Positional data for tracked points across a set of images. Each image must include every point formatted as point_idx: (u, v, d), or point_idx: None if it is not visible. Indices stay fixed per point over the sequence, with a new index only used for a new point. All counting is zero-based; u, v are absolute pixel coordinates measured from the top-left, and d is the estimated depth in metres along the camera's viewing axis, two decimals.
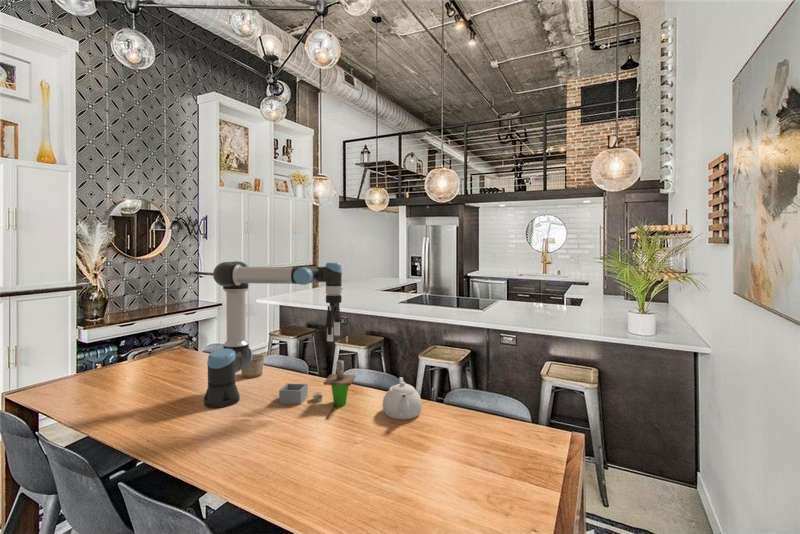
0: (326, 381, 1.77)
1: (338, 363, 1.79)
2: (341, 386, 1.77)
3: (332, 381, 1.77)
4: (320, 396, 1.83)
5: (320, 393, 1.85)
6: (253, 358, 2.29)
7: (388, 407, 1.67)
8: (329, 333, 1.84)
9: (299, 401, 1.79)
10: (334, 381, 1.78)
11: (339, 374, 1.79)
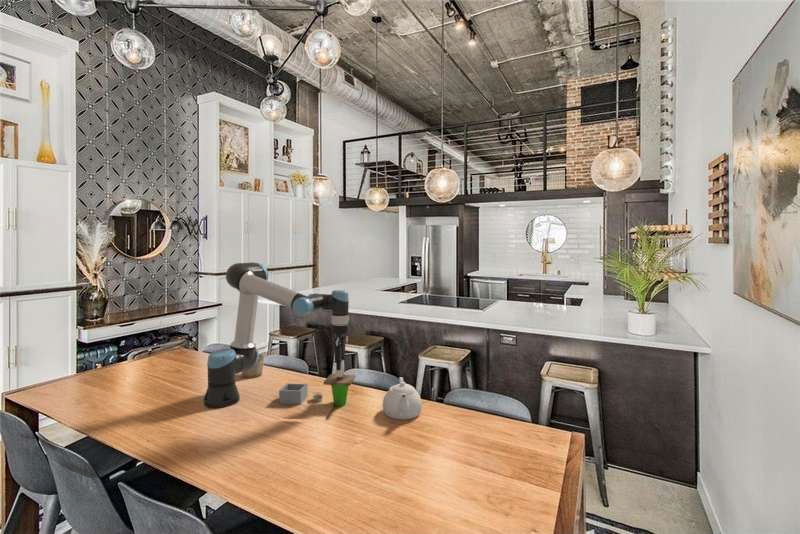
0: (326, 381, 1.77)
1: None
2: (341, 386, 1.77)
3: (332, 381, 1.77)
4: (320, 396, 1.83)
5: (320, 393, 1.85)
6: None
7: (388, 407, 1.67)
8: (338, 368, 1.77)
9: (299, 401, 1.79)
10: (334, 381, 1.78)
11: None
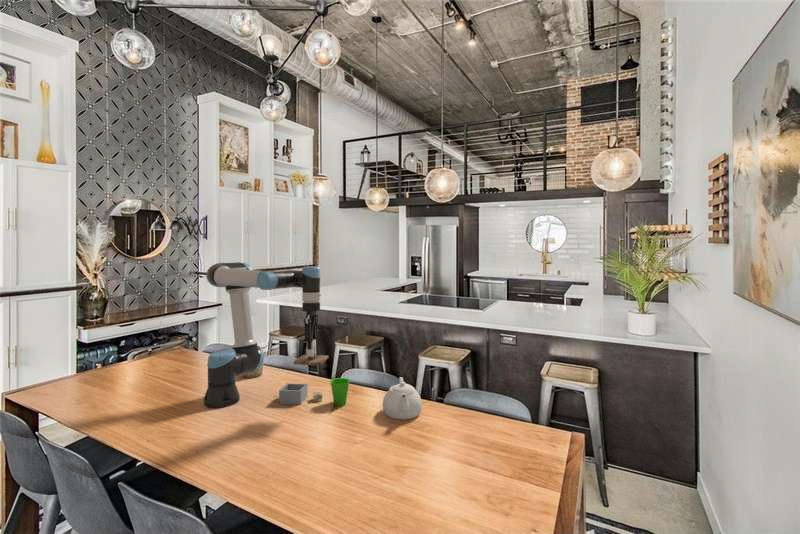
0: (296, 361, 1.69)
1: None
2: (341, 386, 1.77)
3: (302, 361, 1.70)
4: (320, 396, 1.83)
5: (320, 393, 1.85)
6: None
7: (388, 407, 1.67)
8: (309, 348, 1.70)
9: (299, 401, 1.79)
10: (304, 360, 1.70)
11: None
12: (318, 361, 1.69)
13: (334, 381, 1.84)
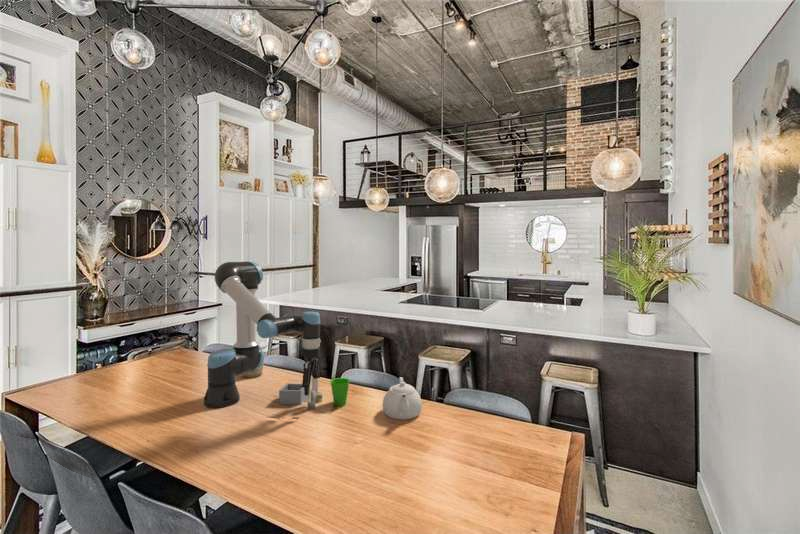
0: None
1: None
2: (341, 386, 1.77)
3: None
4: (320, 396, 1.83)
5: (320, 393, 1.85)
6: None
7: (388, 407, 1.67)
8: (306, 394, 1.67)
9: (299, 401, 1.79)
10: None
11: (309, 404, 1.73)
12: None
13: (334, 381, 1.84)
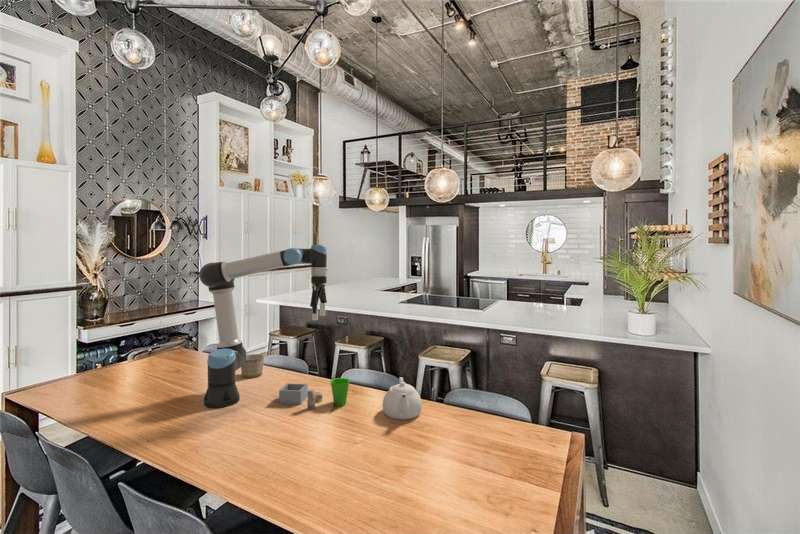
0: None
1: (309, 393, 1.73)
2: (341, 386, 1.77)
3: None
4: (320, 396, 1.83)
5: (320, 393, 1.85)
6: (253, 358, 2.29)
7: (388, 407, 1.67)
8: (314, 312, 1.91)
9: (299, 401, 1.79)
10: None
11: (309, 404, 1.73)
12: None
13: (334, 381, 1.84)
